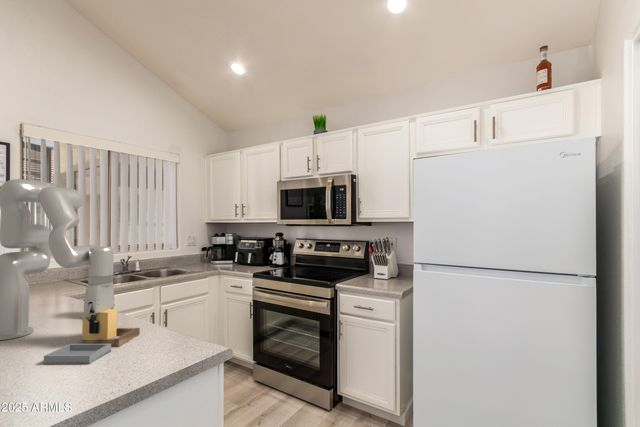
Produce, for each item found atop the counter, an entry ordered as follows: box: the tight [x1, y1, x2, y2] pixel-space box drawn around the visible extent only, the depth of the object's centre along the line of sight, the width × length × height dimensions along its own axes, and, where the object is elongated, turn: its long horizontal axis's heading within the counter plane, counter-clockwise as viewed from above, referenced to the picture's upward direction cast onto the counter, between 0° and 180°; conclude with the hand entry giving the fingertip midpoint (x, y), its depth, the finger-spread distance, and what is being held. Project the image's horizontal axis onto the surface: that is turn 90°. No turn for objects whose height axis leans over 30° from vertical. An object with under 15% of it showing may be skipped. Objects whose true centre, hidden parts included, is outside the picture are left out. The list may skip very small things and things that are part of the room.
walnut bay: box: [82, 327, 141, 348], centre depth 116 cm, size 13×12×2 cm
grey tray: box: [43, 343, 112, 365], centre depth 101 cm, size 14×10×2 cm
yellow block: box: [81, 308, 118, 342], centre depth 116 cm, size 10×5×10 cm, turn 90°
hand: (99, 330), depth 116 cm, fingers closed on yellow block, 5 cm apart
